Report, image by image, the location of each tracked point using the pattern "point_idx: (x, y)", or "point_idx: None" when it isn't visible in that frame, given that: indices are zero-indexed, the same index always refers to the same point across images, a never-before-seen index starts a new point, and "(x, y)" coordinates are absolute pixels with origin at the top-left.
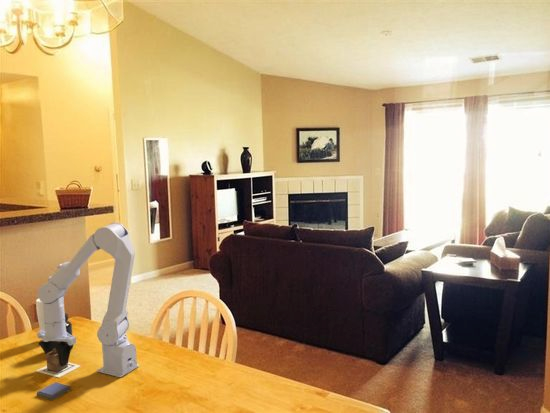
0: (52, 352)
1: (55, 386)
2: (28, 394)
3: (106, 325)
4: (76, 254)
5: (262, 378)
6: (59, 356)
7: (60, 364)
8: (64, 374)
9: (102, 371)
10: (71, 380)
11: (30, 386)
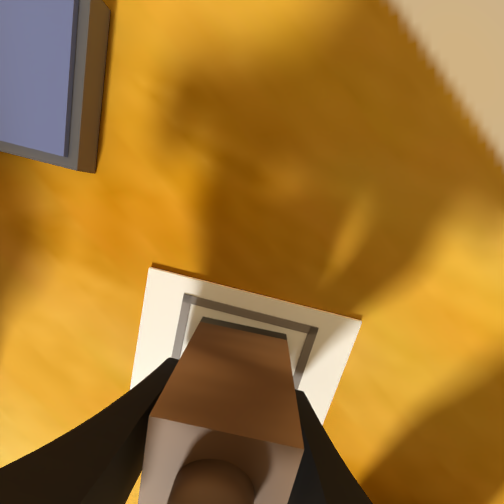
0: (233, 477)
1: (12, 97)
2: (186, 17)
3: None
4: None
5: None
6: (123, 418)
7: (174, 366)
8: (143, 305)
9: None
10: (53, 249)
11: (256, 130)
